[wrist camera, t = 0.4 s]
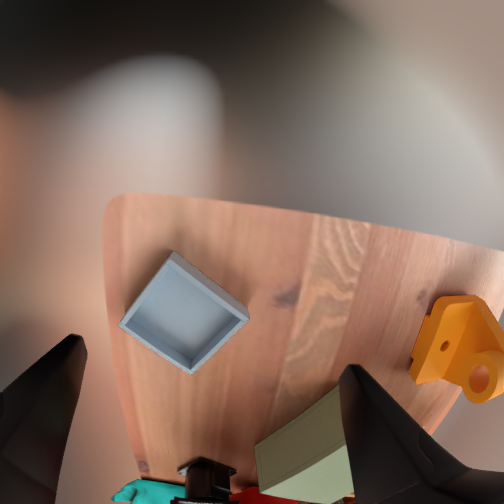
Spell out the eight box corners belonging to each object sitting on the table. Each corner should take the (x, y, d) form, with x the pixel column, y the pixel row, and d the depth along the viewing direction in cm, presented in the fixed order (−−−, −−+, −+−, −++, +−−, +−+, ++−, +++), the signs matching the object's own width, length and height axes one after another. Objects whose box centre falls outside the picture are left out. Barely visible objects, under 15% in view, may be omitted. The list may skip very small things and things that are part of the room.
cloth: (221, 478, 33) (221, 489, 31) (239, 506, 37) (240, 515, 35) (82, 469, 33) (78, 478, 31) (117, 501, 37) (115, 509, 35)
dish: (193, 362, 26) (191, 375, 24) (124, 314, 24) (117, 325, 22) (247, 307, 25) (249, 319, 23) (173, 250, 23) (169, 257, 21)
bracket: (432, 293, 27) (505, 351, 15) (470, 292, 27) (536, 338, 16) (403, 372, 30) (452, 438, 18) (442, 364, 30) (491, 418, 19)
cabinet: (394, 413, 32) (416, 450, 25) (318, 467, 35) (329, 504, 27) (341, 381, 29) (365, 430, 22) (253, 445, 31) (259, 493, 24)
